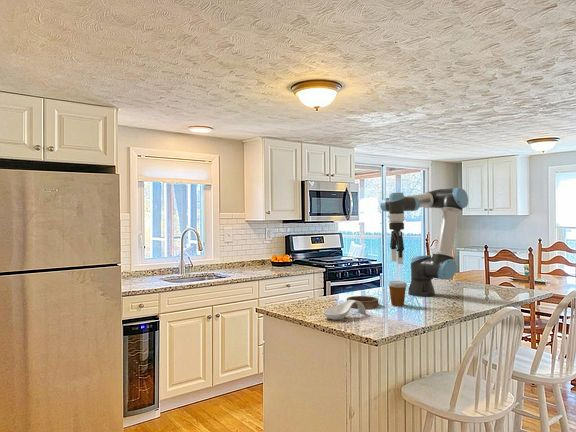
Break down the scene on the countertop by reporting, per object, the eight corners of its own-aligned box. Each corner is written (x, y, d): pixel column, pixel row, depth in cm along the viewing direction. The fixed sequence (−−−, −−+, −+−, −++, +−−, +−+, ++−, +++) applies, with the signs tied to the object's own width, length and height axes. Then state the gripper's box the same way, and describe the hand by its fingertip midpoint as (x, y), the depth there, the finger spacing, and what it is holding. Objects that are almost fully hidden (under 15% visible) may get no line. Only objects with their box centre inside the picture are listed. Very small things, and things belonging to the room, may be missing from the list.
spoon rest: (335, 323, 192) (335, 307, 192) (317, 318, 201) (317, 303, 201) (371, 315, 207) (371, 300, 207) (353, 311, 216) (352, 296, 216)
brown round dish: (358, 301, 241) (358, 294, 241) (385, 305, 229) (385, 298, 229) (339, 305, 230) (339, 298, 230) (366, 310, 217) (366, 303, 217)
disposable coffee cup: (407, 307, 224) (407, 283, 224) (388, 306, 226) (388, 283, 226) (406, 303, 233) (406, 281, 233) (388, 303, 235) (387, 280, 235)
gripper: (384, 222, 242) (384, 260, 242) (395, 222, 217) (395, 265, 217) (397, 221, 242) (398, 260, 242) (410, 222, 217) (410, 265, 217)
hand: (396, 262), depth 229 cm, fingers open, 13 cm apart
